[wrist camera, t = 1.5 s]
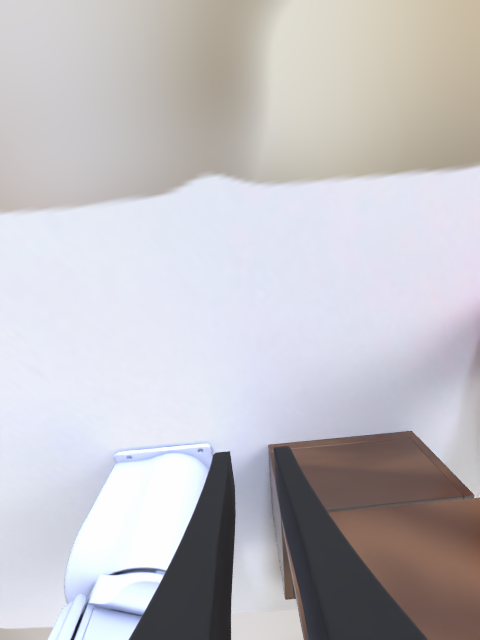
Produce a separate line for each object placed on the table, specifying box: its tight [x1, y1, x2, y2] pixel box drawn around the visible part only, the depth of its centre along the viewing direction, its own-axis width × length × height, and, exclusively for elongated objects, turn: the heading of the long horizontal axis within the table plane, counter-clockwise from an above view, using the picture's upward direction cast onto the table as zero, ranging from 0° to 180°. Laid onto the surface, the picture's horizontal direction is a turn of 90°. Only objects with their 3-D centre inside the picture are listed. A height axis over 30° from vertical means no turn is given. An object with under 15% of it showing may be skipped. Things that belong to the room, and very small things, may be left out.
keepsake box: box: [268, 431, 474, 600], centre depth 21 cm, size 12×15×6 cm
